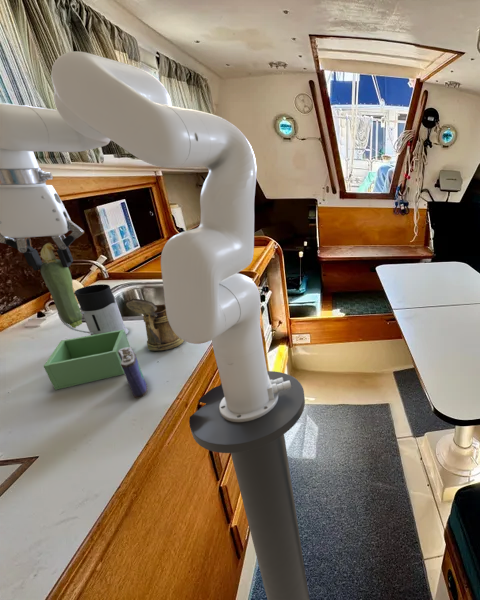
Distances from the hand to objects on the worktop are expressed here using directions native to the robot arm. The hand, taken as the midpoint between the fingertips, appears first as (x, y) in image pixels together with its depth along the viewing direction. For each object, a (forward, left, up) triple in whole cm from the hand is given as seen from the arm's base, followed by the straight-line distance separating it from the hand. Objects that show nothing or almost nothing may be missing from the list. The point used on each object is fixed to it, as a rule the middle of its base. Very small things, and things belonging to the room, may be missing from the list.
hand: (53, 266), depth 71 cm
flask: (-10, +13, -28) cm, 32 cm away
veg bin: (0, -1, -27) cm, 27 cm away
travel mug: (+2, -18, -28) cm, 33 cm away
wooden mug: (-14, -5, -28) cm, 31 cm away
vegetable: (0, 0, -15) cm, 15 cm away
